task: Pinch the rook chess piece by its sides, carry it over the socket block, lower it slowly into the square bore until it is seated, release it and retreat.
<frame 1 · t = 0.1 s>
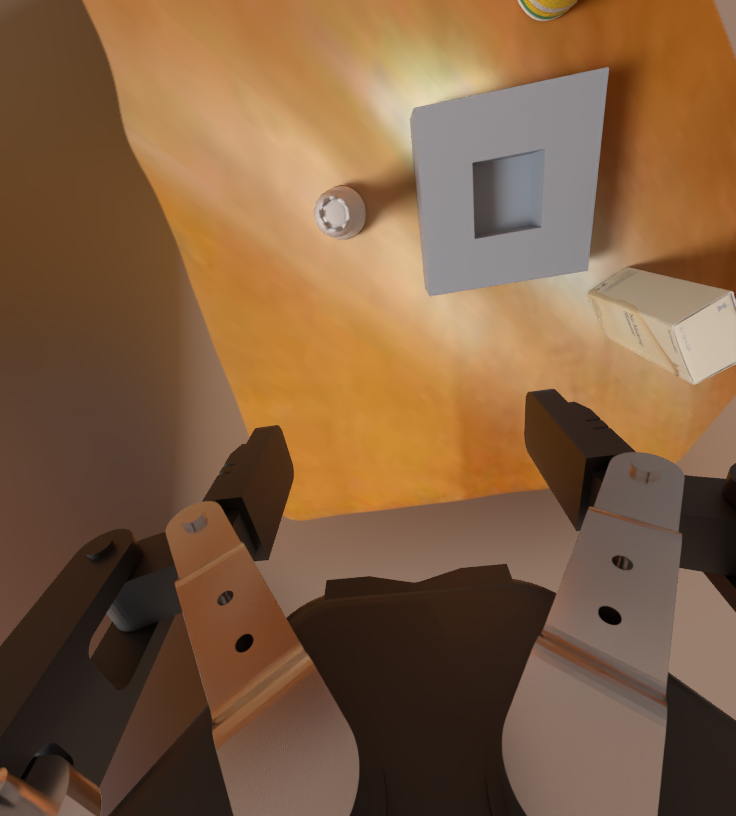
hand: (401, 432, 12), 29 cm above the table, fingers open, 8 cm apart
socket block: (494, 197, 34), on the table
rook chess piece: (342, 213, 35), on the table
skincare box: (617, 303, 39), on the table
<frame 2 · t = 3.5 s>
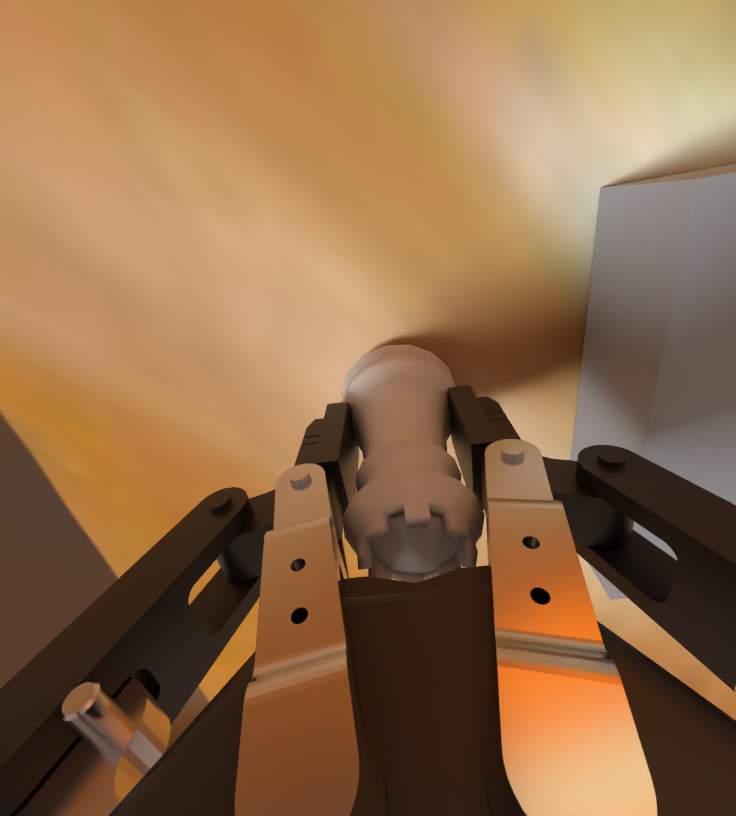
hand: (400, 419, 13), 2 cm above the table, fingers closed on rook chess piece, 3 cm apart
rook chess piece: (397, 391, 15), on the table, touching gripper
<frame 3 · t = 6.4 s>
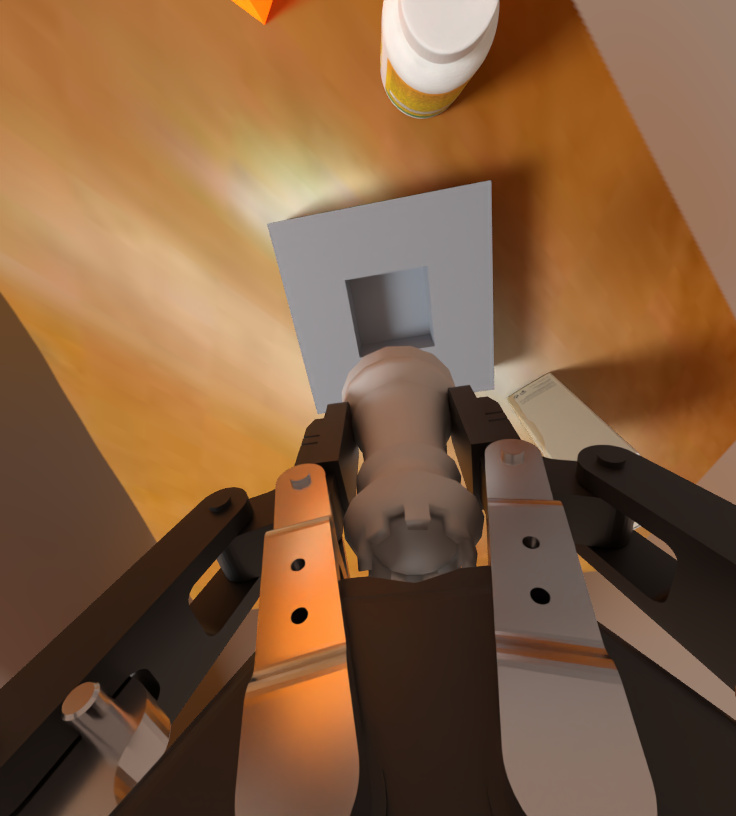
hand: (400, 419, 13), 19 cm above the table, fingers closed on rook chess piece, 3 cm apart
socket block: (389, 302, 30), on the table
supplement bottle: (423, 68, 23), on the table
rook chess piece: (397, 392, 15), point 17 cm above the table, touching gripper
skincare box: (542, 407, 34), on the table
when the fingers open (5 cm above the table, at t = 9.4 s): rook chess piece drops 2 cm, resting on socket block.
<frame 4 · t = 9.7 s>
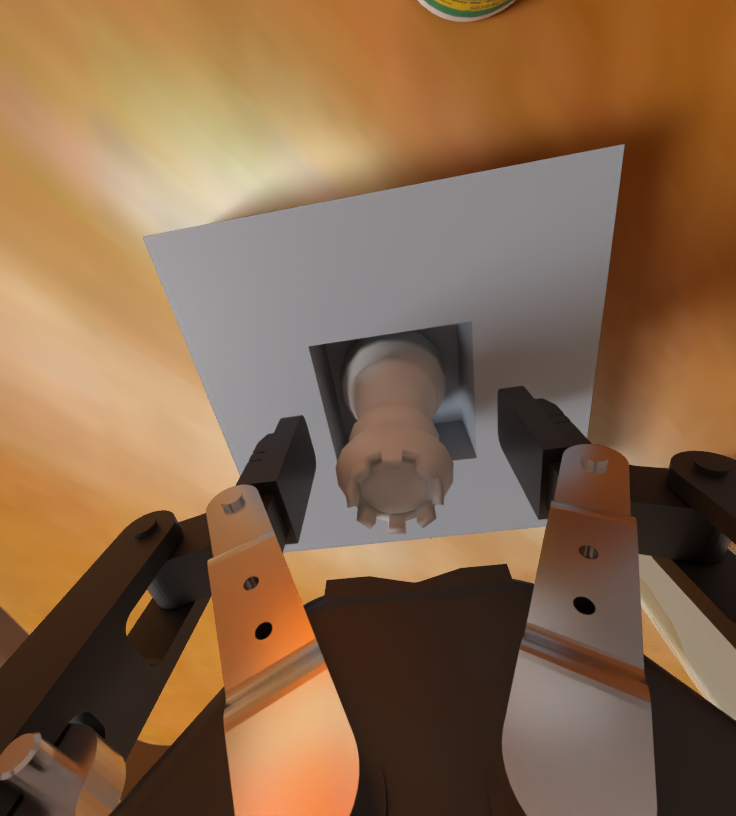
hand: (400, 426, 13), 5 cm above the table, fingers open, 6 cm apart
socket block: (394, 366, 17), on the table
rook chess piece: (393, 371, 17), point 1 cm above the table, touching socket block
skincare box: (630, 519, 22), on the table
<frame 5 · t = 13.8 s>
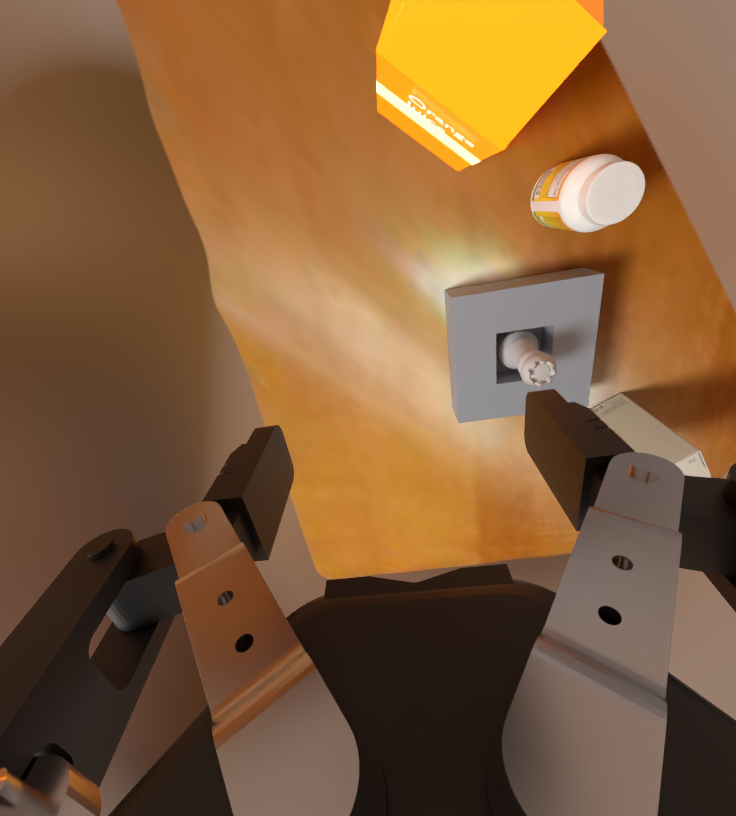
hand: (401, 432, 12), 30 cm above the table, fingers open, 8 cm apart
socket block: (511, 343, 42), on the table
supplement bottle: (557, 197, 35), on the table
rook chess piece: (513, 344, 41), point 1 cm above the table, touching socket block
orange juice: (443, 97, 32), on the table
skincare box: (612, 418, 46), on the table
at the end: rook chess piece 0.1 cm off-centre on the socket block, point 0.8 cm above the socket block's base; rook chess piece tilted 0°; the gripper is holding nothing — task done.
